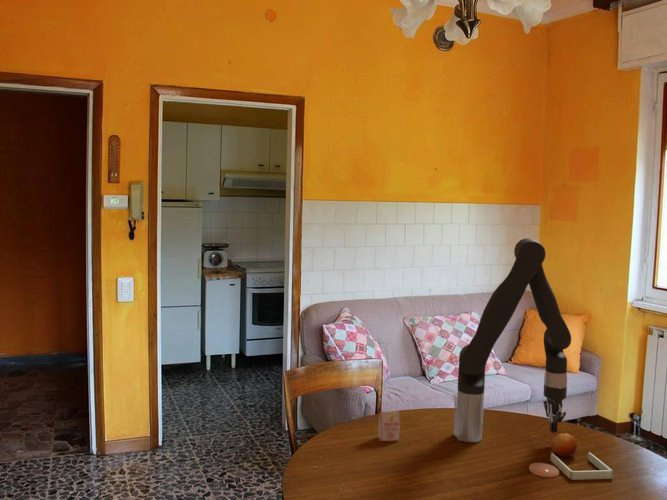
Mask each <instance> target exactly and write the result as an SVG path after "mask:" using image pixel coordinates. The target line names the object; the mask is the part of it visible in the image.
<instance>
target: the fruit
mask: <svg viewBox="0 0 667 500" xmlns="http://www.w3.org/2000/svg"><path fill="white" fill-rule="evenodd" d="M550 443H551V448H552V449H553V451H554V452H555V454H557V455H558V456H560V457H562V458H568V457H572V458H574V455H575V453H576V451H577V447H578V446H577V441H576V439H575V437H574V436H573V435H571V434H570V433H567V432H566V433H559V434H556V435H555V436H554V437H553V438H552V439H551V441H550Z"/></svg>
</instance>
